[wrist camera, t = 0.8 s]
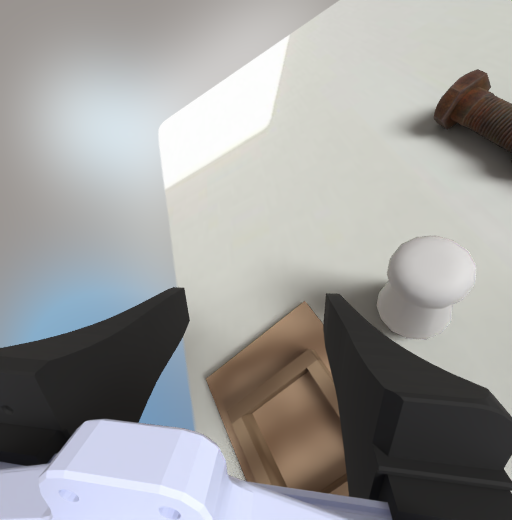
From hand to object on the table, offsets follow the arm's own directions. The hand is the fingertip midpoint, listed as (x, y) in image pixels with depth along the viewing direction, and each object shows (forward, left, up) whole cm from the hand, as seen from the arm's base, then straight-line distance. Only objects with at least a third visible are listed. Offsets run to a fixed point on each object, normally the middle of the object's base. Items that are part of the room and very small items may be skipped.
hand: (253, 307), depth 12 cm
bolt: (+4, -28, -18) cm, 34 cm away
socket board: (-6, +6, -17) cm, 19 cm away
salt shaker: (-3, -9, -18) cm, 20 cm away
